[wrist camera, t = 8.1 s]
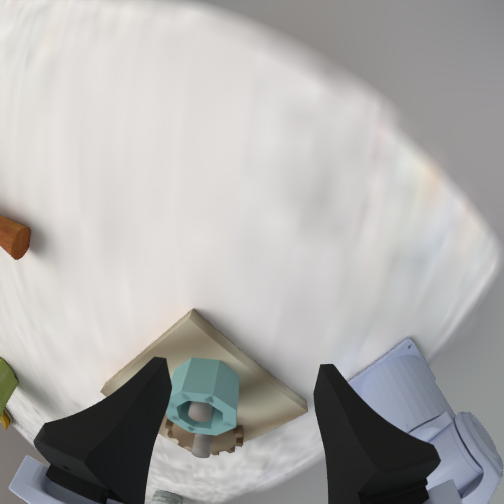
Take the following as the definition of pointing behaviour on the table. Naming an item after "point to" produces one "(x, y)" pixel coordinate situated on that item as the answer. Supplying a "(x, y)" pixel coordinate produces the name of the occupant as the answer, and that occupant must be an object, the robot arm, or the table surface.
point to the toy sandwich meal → (6, 418)
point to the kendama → (14, 237)
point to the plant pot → (6, 384)
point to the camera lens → (166, 498)
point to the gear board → (215, 346)
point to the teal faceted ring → (204, 395)
